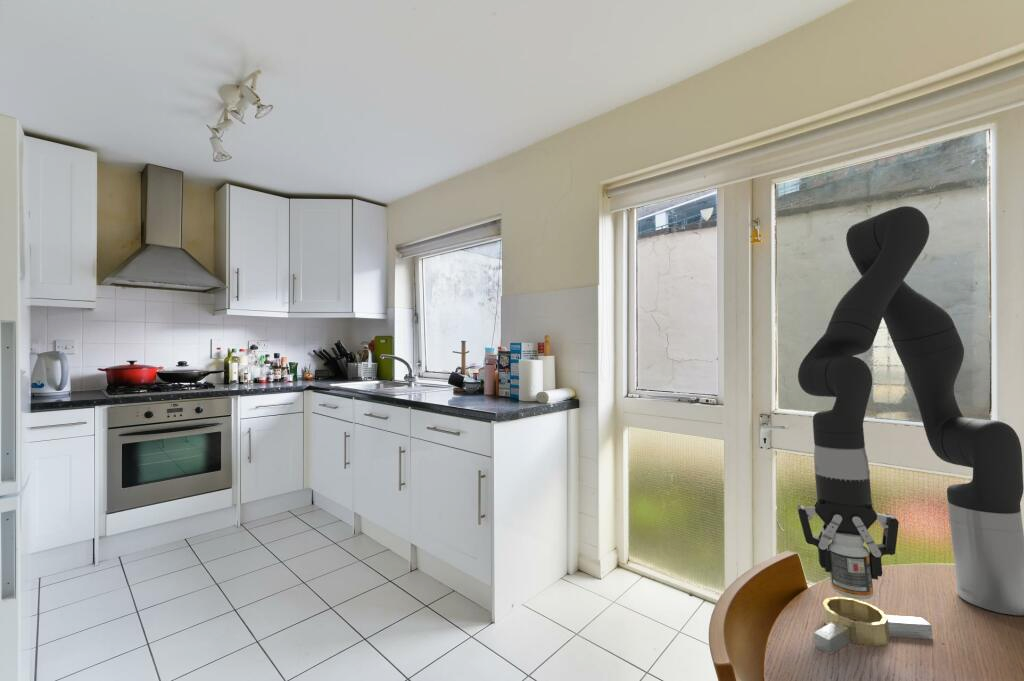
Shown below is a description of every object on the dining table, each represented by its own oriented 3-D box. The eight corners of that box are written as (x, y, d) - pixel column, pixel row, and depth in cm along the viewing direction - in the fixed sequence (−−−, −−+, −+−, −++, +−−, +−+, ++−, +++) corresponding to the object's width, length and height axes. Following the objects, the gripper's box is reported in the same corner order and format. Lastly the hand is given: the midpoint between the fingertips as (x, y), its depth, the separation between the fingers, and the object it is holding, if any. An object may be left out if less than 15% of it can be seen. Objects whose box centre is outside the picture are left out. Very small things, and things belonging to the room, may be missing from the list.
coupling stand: (882, 609, 78) (881, 591, 78) (936, 638, 70) (934, 617, 70) (782, 623, 75) (781, 604, 76) (826, 655, 67) (824, 633, 67)
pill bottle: (881, 602, 70) (876, 539, 70) (841, 599, 71) (836, 537, 72) (861, 585, 75) (856, 526, 76) (824, 582, 76) (819, 525, 77)
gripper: (889, 471, 74) (898, 572, 73) (790, 464, 81) (797, 557, 80) (902, 481, 68) (913, 593, 67) (793, 473, 75) (801, 574, 74)
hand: (849, 573), depth 73 cm, fingers closed on pill bottle, 5 cm apart
